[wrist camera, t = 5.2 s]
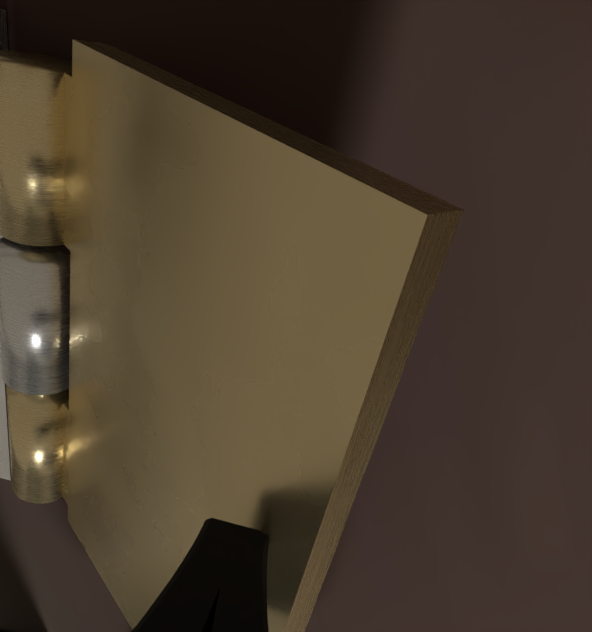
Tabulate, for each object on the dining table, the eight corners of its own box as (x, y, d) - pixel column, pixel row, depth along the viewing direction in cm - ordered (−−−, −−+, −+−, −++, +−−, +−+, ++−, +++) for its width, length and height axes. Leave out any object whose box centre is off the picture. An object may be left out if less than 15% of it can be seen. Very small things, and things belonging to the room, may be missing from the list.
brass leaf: (63, 464, 22) (4, 486, 21) (64, 22, 14) (-30, 9, 13) (255, 766, 15) (184, 832, 14) (468, 209, 7) (355, 224, 6)
